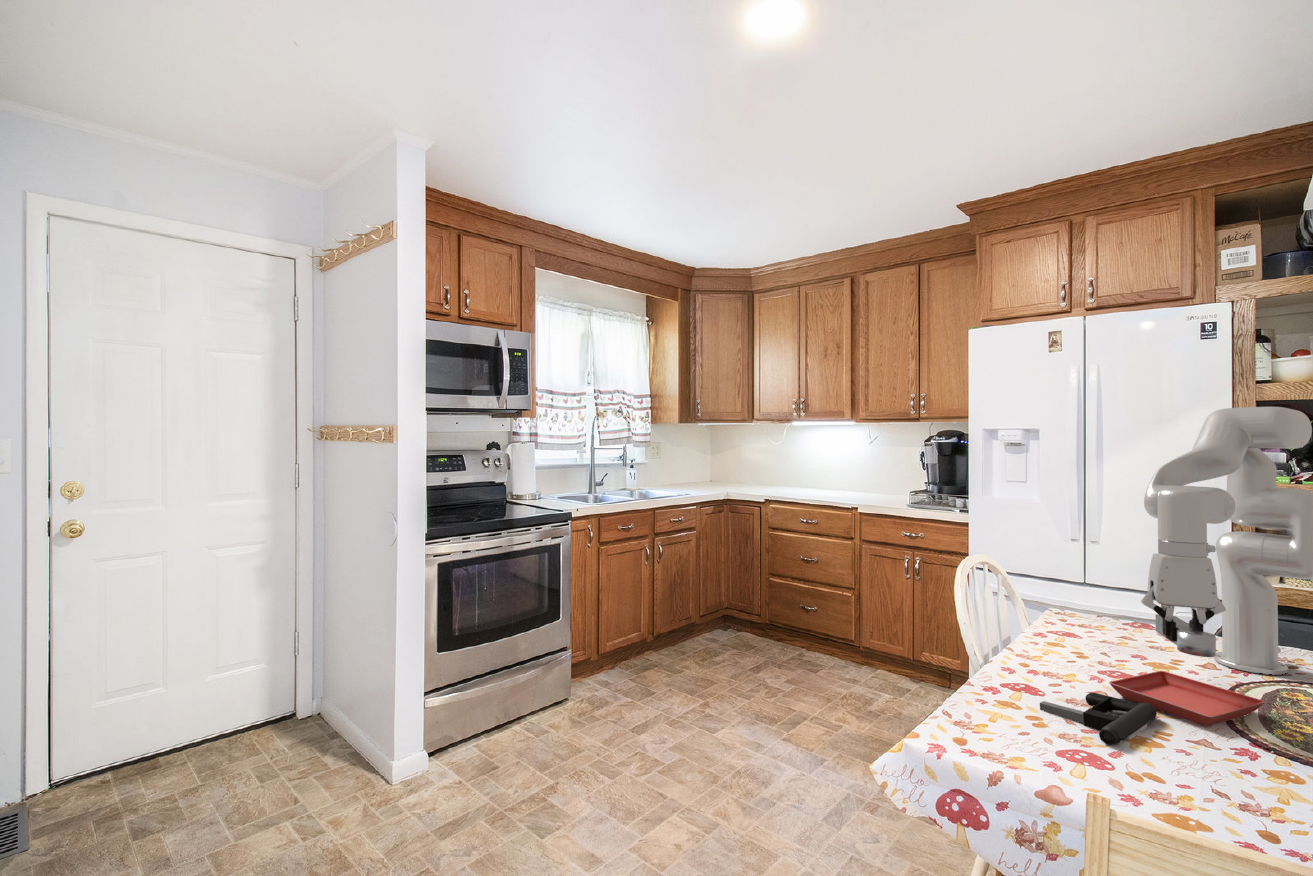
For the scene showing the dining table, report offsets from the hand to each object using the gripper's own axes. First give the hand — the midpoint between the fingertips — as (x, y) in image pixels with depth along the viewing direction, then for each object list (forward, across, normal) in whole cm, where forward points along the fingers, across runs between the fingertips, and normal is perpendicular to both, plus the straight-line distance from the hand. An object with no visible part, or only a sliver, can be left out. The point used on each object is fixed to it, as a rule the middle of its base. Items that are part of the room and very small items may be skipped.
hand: (1182, 639), depth 122 cm
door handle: (+14, +19, +13) cm, 27 cm away
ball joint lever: (+1, 0, 0) cm, 1 cm away
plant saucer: (+14, 0, 0) cm, 14 cm away
